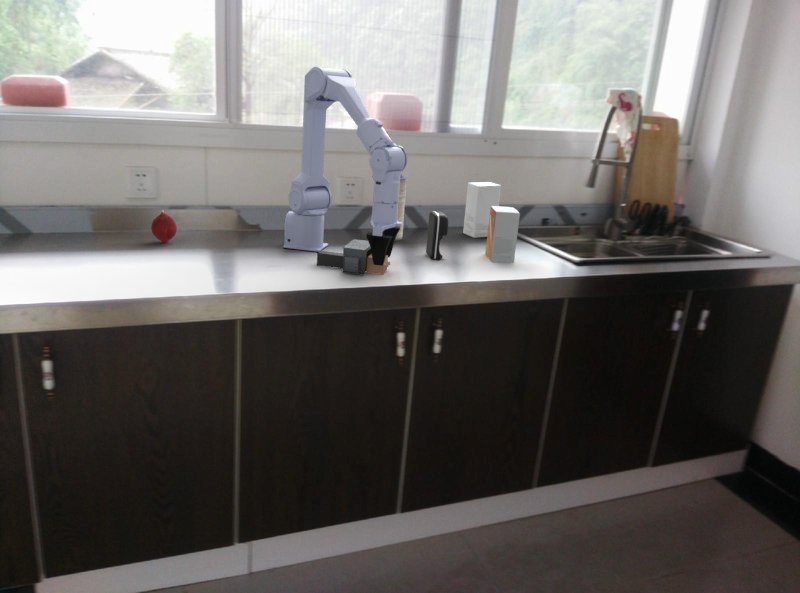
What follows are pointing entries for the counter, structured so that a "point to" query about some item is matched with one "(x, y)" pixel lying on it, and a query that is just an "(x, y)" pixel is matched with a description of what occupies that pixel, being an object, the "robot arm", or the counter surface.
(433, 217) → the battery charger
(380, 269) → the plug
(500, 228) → the small box
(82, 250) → the counter surface
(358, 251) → the housing
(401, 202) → the aerosol can
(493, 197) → the skincare box
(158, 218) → the onion
